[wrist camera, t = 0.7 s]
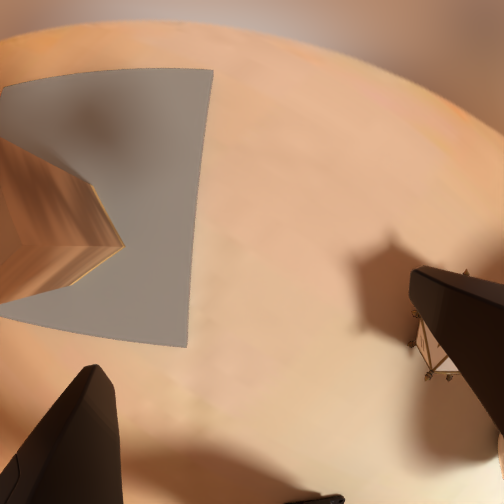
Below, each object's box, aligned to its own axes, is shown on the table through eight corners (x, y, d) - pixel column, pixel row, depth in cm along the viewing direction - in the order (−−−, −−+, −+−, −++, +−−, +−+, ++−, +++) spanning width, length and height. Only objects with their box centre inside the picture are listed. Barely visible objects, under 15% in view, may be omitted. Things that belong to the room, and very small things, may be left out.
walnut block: (125, 246, 19) (22, 245, 7) (72, 284, 19) (-47, 317, 7) (92, 185, 19) (-15, 128, 7) (42, 225, 19) (-78, 209, 7)
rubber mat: (187, 344, 21) (186, 347, 20) (-23, 307, 18) (-28, 308, 18) (213, 75, 21) (213, 70, 20) (7, 90, 18) (3, 87, 18)
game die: (390, 316, 26) (384, 313, 18) (460, 264, 24) (483, 236, 16) (433, 393, 23) (445, 425, 14) (504, 340, 20) (545, 347, 12)
